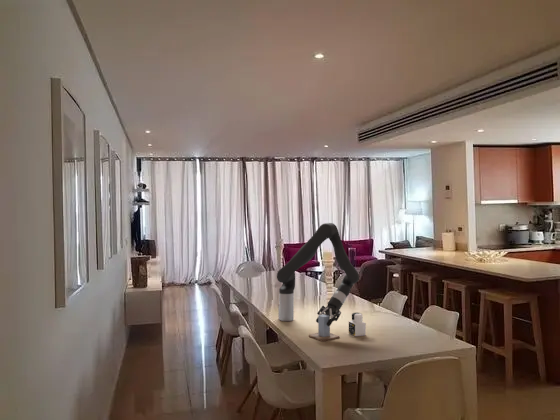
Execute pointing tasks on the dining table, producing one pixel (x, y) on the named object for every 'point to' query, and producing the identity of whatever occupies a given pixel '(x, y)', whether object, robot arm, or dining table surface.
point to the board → (327, 338)
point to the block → (323, 325)
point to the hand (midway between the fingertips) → (322, 323)
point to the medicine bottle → (357, 325)
